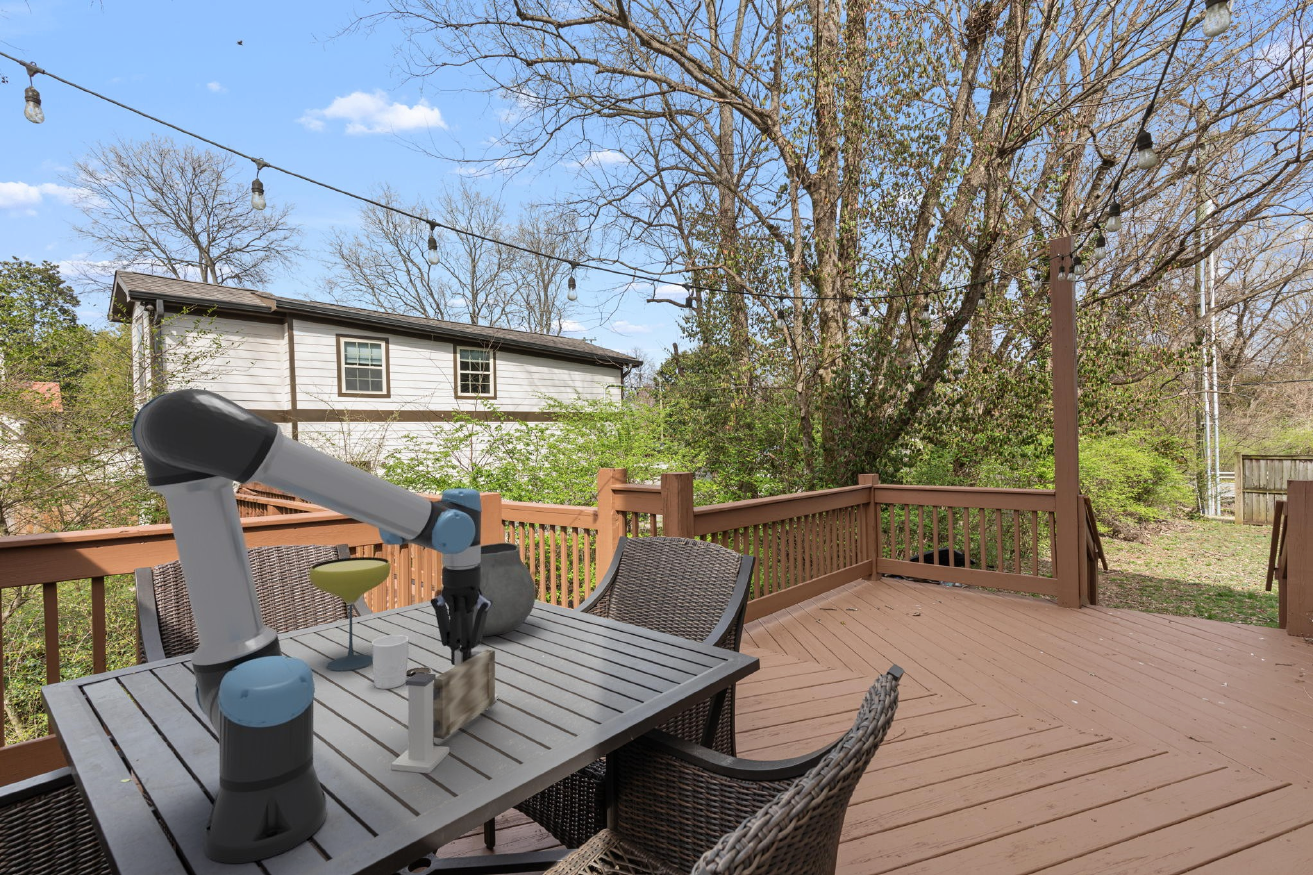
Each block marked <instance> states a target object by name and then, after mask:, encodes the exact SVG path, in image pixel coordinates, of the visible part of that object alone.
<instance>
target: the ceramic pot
mask: <svg viewBox="0 0 1313 875" xmlns="http://www.w3.org/2000/svg"><path fill="white" fill-rule="evenodd" d="M520 552H521V550H520V546H519V545H518V544H515V543H511V542H498V543H497V542H496V543H488V544H483V545H481V562H480V563H479V564H478V565H480V567H481V582H480V589H481V592H482V596H483V597H484V598H485V599H486V600H492V602H493V604H492V606H491V607H490V609H489V610H488V613H487V618H486V622H485V626H484V630H483V635H482V637H484V636H485V637H486V636H487V637H488V636H495V635H502V634H507V633H509V632H513V631H515V630H516V629H517V628H518V629H519V627H520V626H521V625H522V624H523V623H524V622H525V621H526V619H527V618H528V617H529V616H530V614H531V613H532V611H533V608H534V606H535V602H536V601H535V600H536V588H535V583H534V579H533V576H532V573H531V572H530V570H529V569H528V568H527V566H526V564H525V563H524V562H523V561H522V558H521V554H520ZM477 607H478V603H477V604H476V605H475V607H474V613H473V627H474V622H475V618H476V614H477V611H478V608H477Z"/></svg>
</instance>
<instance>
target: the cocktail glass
mask: <svg viewBox="0 0 1313 875" xmlns="http://www.w3.org/2000/svg"><path fill="white" fill-rule="evenodd" d="M390 572H391V565H390V560H389V559H387V558H383V557H377V556H376V557H375V556H373V557H371V556H362V557H361V556H360V557H359V556H358V557H343V558H336V559H331V560H325V561H322V562H321V561H320V562H317V563H315V564H312V566H311V567H310V570H309V580H310V583H311V584H312V585H313V586H314V587H315V588H317V589H318V590H321V591H323V592H325V593H328V594H331V595H333V596H336V597H339V598H341V600H343V602H344V603H346V605H348V606H349V607H348V608H349V624H348V625H349V630H348V631H349V632H348V633H349V635H348V650H347V651H348V652H347V655H345V656H340V657H337V658H335V659H333V660H331V661H329V662H327V664H326V669H328V670H329V669H330V670H329V671H332V670H333V671H332V672H348V671H349V672H350V671H355V670H361V669H364V668H365V667H368V666H370V665H373V659H372V655H371V654H370V655H368V654H355V653H354V647H353V646H354V645H353V643H354V642H353V605H355V604H356V603H357V601H358V600H359V599H360V597H361V596H363V595H364V594H365V593H367V592H369V591H371V590H372V589H375V588H376V587H378V586H379V585H381V584H383V583H384V582H385V580H387V579H388V577H389V576H390Z"/></svg>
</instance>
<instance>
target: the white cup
mask: <svg viewBox="0 0 1313 875" xmlns="http://www.w3.org/2000/svg"><path fill="white" fill-rule="evenodd" d="M409 639H410V638H409V636H407V635H402V634H391V635H385V636H379V637H377V638H375V639H373V640H372V641H371V652H372V655H371V656H372V659H373V663H372V667H373V668H372V671H373V685H374V687H375V688H376V689H380V690H381V689H383V690H389V689H395V688H398V687H401V686H403V685H404V684H406V680H407V674H408V672H407V671H408V664H409V662H408V661H409Z"/></svg>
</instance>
